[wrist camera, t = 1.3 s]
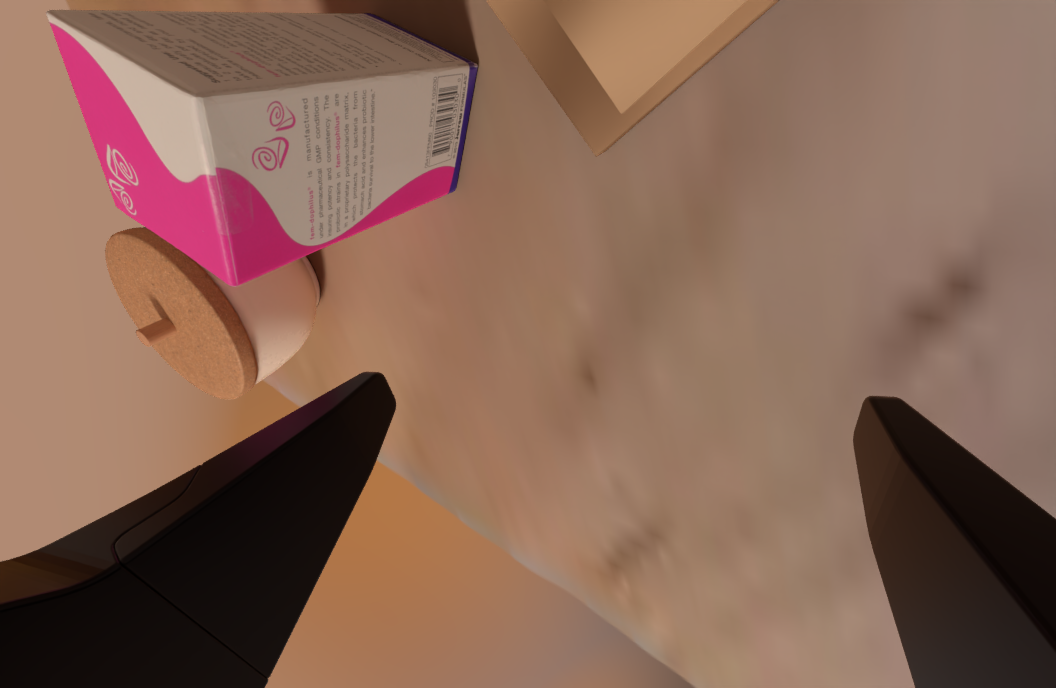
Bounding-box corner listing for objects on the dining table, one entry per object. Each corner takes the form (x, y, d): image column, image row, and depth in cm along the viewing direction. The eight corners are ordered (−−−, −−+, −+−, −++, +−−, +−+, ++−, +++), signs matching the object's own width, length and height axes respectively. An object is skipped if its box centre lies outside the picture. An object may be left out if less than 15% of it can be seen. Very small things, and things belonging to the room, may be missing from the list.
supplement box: (366, 9, 20) (30, -3, 11) (481, 62, 19) (203, 94, 10) (361, 144, 24) (106, 210, 15) (457, 195, 22) (238, 297, 14)
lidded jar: (349, 243, 28) (194, 315, 21) (344, 363, 35) (227, 447, 28) (219, 163, 30) (38, 205, 23) (239, 292, 37) (105, 354, 30)
